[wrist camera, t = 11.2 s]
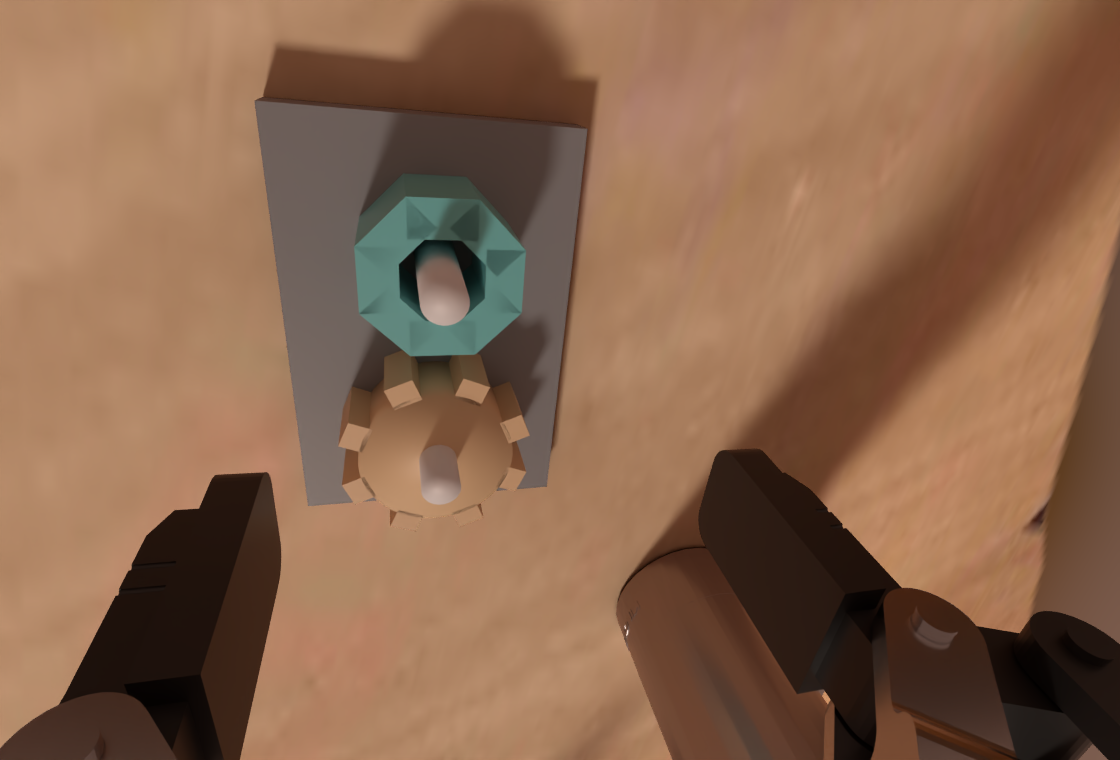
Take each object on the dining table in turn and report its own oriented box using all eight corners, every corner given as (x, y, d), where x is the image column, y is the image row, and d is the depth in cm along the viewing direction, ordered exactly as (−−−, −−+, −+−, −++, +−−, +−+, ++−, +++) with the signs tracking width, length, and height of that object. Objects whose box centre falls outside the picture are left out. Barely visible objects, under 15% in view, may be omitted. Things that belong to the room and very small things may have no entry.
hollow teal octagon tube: (509, 179, 23) (529, 201, 20) (502, 313, 26) (518, 353, 23) (356, 170, 22) (350, 194, 19) (365, 314, 25) (362, 357, 21)
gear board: (577, 124, 25) (642, 152, 18) (540, 469, 33) (576, 570, 27) (262, 97, 21) (209, 120, 15) (311, 486, 30) (290, 605, 24)
